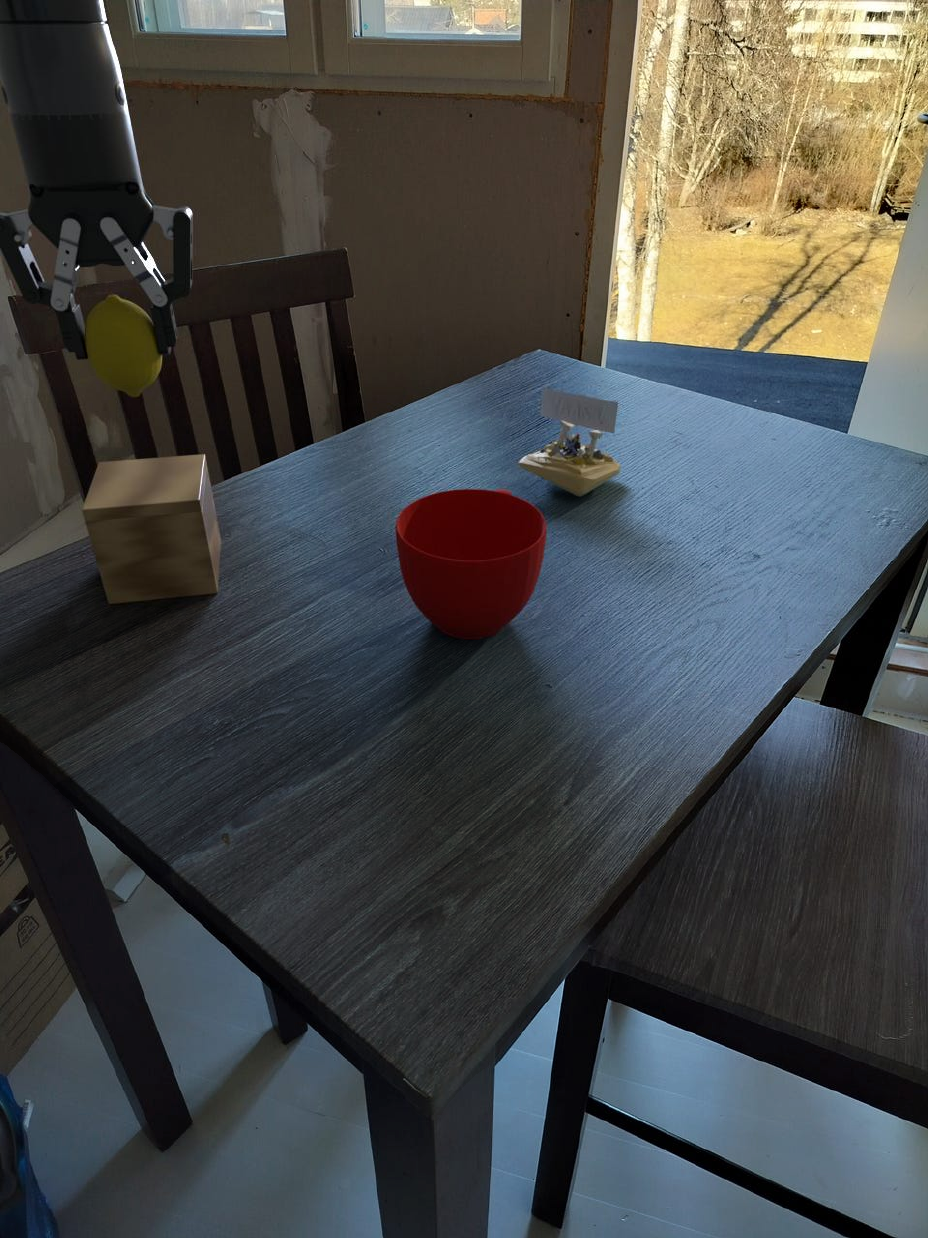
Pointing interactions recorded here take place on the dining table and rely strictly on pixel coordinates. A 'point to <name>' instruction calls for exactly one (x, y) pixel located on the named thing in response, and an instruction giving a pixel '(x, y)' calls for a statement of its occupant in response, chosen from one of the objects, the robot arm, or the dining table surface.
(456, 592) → the ceramic cup
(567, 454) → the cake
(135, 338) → the lemon
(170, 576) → the wooden cube
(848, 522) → the dining table surface
